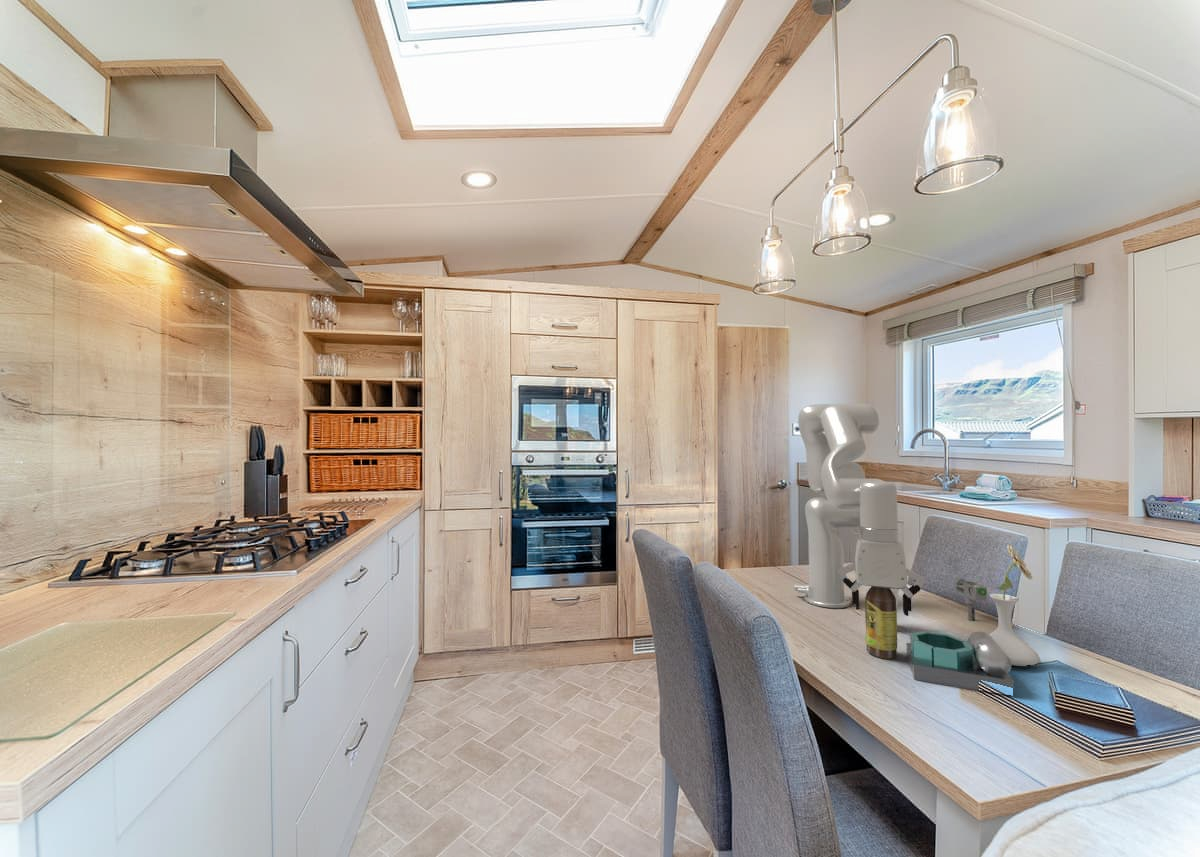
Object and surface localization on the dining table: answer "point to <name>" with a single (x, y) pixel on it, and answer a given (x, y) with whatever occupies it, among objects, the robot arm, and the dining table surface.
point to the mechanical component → (971, 594)
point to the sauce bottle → (881, 622)
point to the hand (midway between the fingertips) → (881, 610)
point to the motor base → (954, 675)
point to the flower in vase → (1004, 634)
